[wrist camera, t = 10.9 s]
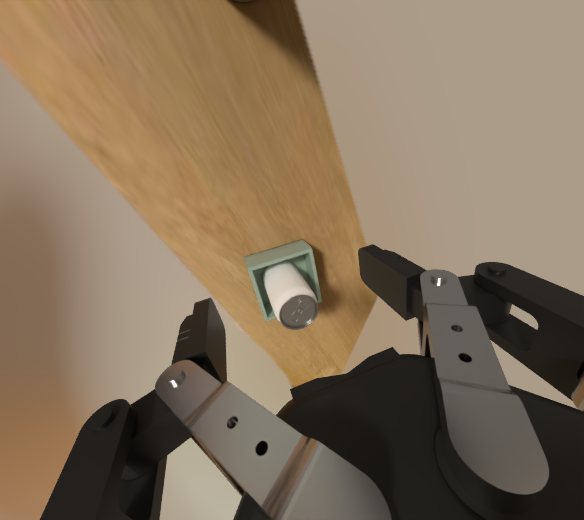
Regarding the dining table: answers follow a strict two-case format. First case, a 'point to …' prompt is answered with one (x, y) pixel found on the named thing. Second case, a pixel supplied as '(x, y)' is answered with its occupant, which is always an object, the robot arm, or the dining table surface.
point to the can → (290, 295)
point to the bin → (291, 252)
